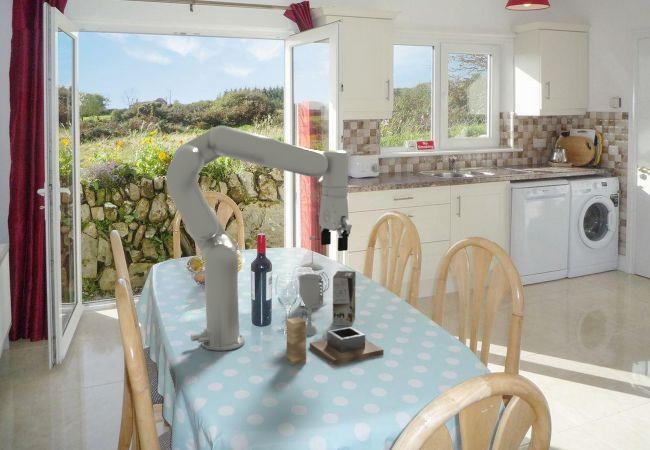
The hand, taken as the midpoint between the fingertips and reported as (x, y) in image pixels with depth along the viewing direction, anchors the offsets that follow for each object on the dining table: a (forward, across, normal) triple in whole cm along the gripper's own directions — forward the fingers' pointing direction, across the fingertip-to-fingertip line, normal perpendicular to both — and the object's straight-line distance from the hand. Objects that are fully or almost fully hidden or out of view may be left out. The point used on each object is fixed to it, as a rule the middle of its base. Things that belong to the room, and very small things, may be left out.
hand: (334, 247), depth 194 cm
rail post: (+28, +14, -20) cm, 37 cm away
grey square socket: (+26, +15, -5) cm, 30 cm away
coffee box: (+28, -8, +9) cm, 30 cm away
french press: (+28, -29, +10) cm, 41 cm away
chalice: (+28, -4, -6) cm, 29 cm away
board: (+27, +15, -4) cm, 31 cm away
